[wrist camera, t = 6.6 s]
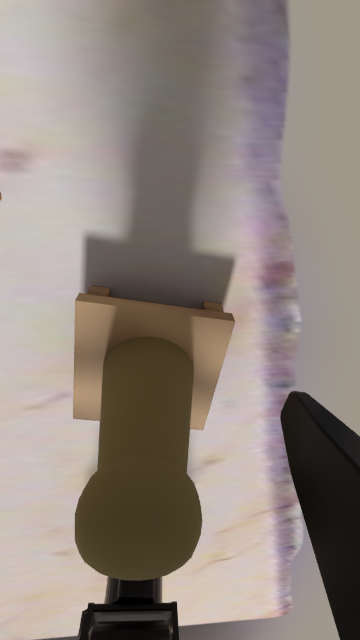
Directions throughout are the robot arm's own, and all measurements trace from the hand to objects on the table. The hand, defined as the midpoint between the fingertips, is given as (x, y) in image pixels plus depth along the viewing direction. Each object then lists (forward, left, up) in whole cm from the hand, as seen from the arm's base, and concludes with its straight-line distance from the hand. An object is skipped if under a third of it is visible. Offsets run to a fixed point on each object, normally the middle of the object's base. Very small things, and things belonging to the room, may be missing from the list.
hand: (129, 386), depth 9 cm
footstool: (-8, -1, -13) cm, 15 cm away
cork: (-8, -1, -11) cm, 13 cm away
